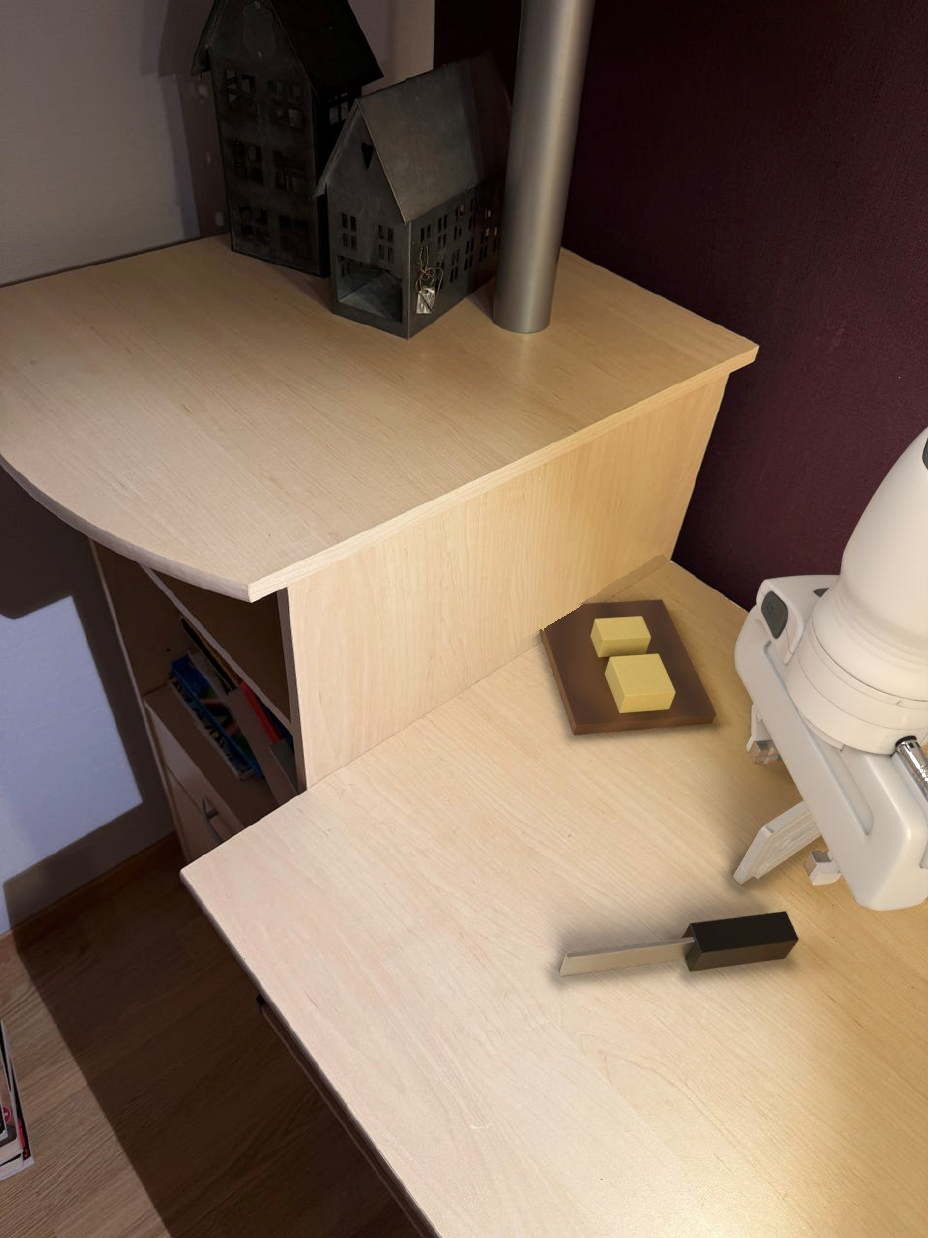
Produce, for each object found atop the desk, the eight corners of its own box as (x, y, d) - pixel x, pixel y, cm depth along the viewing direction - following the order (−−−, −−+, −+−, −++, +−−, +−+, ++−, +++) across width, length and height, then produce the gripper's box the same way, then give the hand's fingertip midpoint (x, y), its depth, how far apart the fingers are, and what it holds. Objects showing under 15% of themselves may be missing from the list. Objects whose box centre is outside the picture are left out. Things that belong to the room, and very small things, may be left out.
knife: (772, 930, 72) (786, 910, 70) (785, 959, 71) (799, 940, 68) (555, 958, 69) (562, 939, 67) (563, 989, 67) (571, 970, 65)
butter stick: (652, 670, 90) (658, 653, 88) (669, 709, 86) (676, 692, 84) (604, 674, 89) (609, 656, 87) (619, 713, 85) (625, 696, 83)
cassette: (742, 891, 75) (773, 841, 69) (726, 874, 76) (755, 822, 70) (836, 827, 80) (871, 776, 75) (819, 812, 81) (853, 760, 76)
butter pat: (636, 633, 93) (642, 615, 91) (645, 654, 91) (651, 637, 89) (590, 636, 92) (594, 618, 91) (598, 657, 90) (603, 640, 88)
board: (658, 609, 98) (662, 599, 97) (712, 724, 87) (717, 714, 86) (534, 616, 96) (536, 605, 95) (573, 735, 85) (576, 725, 84)
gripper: (1027, 826, 45) (906, 953, 55) (839, 559, 60) (769, 697, 69) (915, 838, 44) (811, 966, 54) (751, 563, 58) (692, 702, 68)
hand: (786, 812), depth 62 cm, fingers open, 8 cm apart
